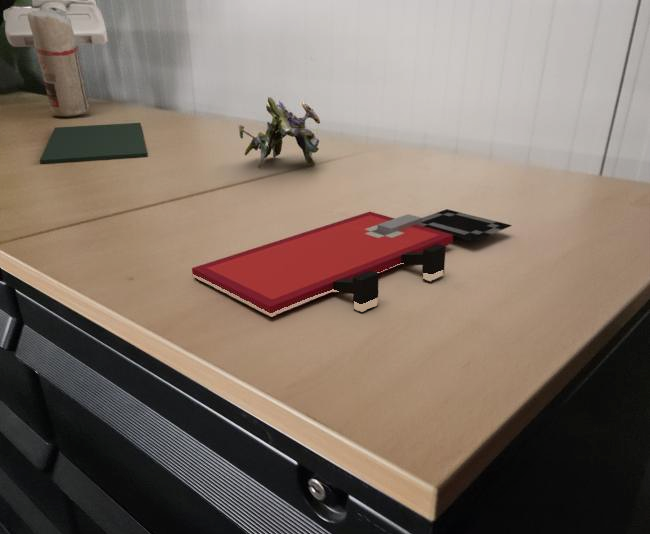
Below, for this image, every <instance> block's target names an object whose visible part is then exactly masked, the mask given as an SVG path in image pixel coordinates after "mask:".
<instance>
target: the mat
mask: <svg viewBox="0 0 650 534" xmlns="http://www.w3.org/2000/svg"><path fill="white" fill-rule="evenodd" d="M146 157H149V154H148V149H147V145H146V141H145V137H144V133H143V129H142V124H141V122H128V123H127V122H126V123H112V124H111V123H110V124H94V125H91V124H90V125H76V126H73V125H72V126H59V127H54V128H53V130H52V133H51V135H50V137H49V139H48V141H47V143H46V146H45V148H44V150H43V152H42V155H41V156H40V159H39V164H40V165H46V164H63V163H74V162H76V163H77V162H90V161H104V160H117V159H133V158H146Z"/></svg>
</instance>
